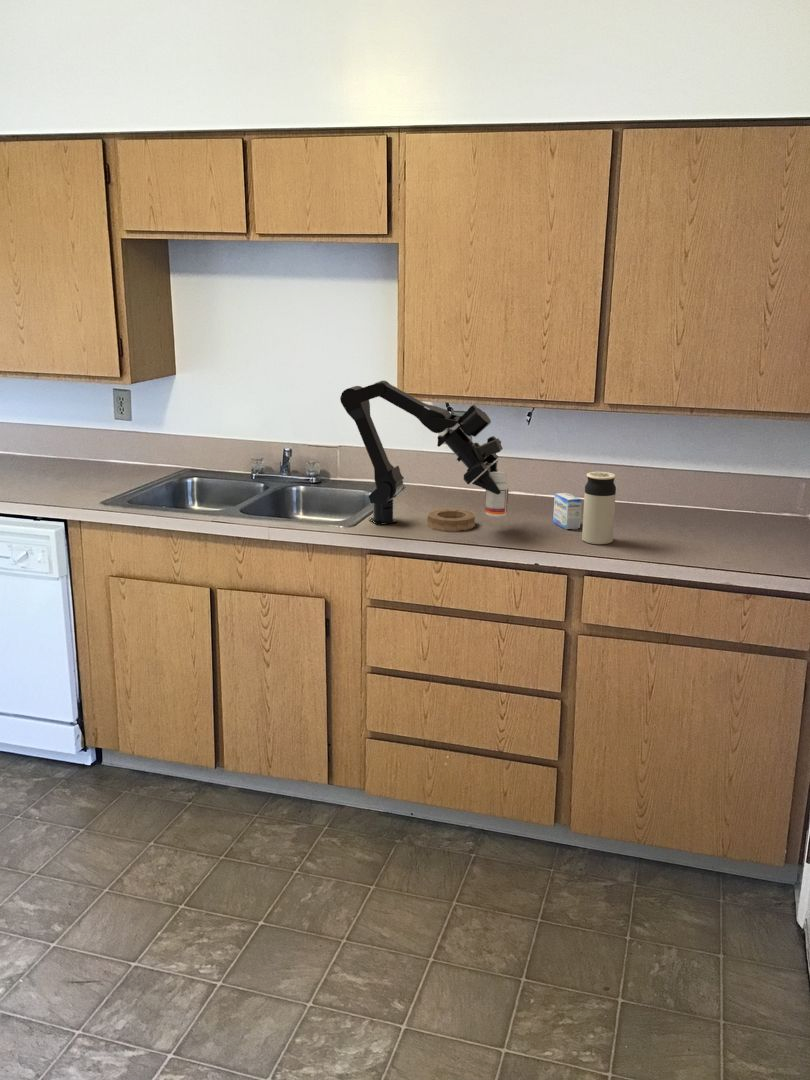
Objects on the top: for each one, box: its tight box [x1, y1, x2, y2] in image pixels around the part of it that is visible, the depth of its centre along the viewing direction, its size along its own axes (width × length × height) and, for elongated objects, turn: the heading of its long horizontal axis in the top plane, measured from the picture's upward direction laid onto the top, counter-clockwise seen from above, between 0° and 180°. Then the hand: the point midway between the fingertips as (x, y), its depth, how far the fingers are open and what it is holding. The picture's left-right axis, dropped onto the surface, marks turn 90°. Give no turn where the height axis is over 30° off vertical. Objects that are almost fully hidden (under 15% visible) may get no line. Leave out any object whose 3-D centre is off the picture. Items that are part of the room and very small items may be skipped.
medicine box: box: [552, 492, 583, 530], centre depth 279 cm, size 8×4×9 cm, turn 21°
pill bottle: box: [484, 471, 510, 518], centre depth 272 cm, size 6×6×11 cm
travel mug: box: [581, 471, 617, 545], centre depth 264 cm, size 8×8×18 cm
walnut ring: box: [427, 508, 476, 532], centre depth 281 cm, size 13×13×3 cm
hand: (501, 490), depth 271 cm, fingers closed on pill bottle, 6 cm apart
